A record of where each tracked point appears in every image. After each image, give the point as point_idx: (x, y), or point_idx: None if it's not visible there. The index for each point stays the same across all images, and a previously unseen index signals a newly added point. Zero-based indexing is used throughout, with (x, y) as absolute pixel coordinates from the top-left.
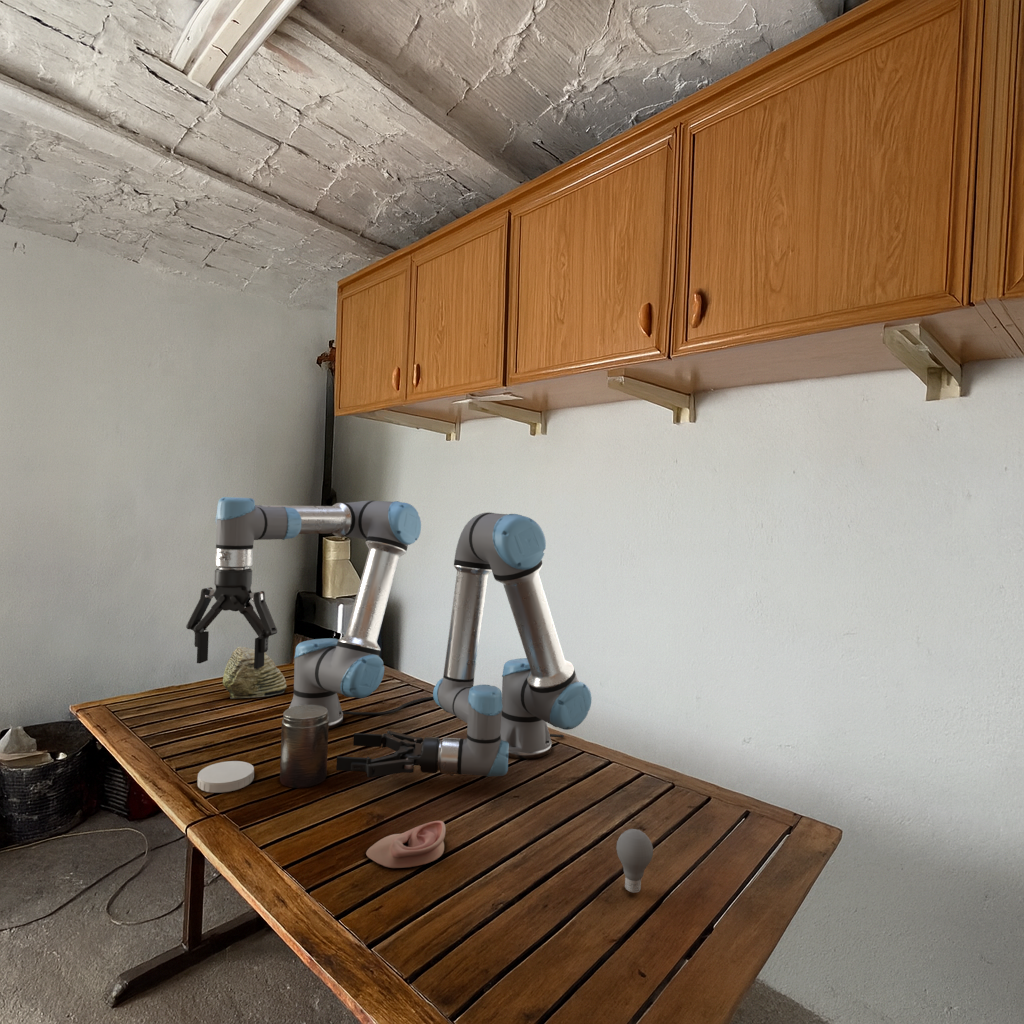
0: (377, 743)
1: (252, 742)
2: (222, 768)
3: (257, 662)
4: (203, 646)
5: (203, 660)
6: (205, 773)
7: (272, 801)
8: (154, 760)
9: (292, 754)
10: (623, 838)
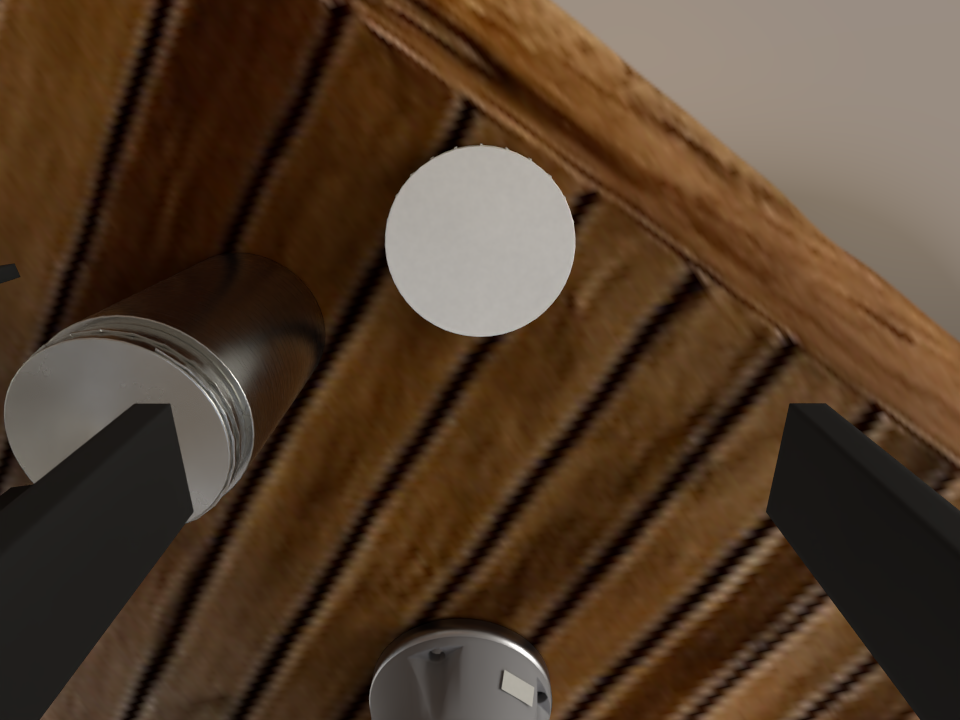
0: (13, 493)
1: (567, 519)
2: (509, 267)
3: (94, 437)
4: (884, 558)
5: (786, 464)
6: (542, 211)
7: (234, 140)
8: (812, 323)
9: (188, 281)
10: None
